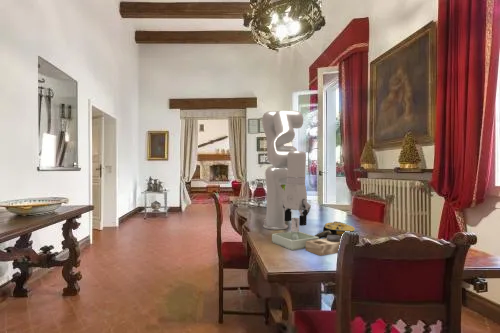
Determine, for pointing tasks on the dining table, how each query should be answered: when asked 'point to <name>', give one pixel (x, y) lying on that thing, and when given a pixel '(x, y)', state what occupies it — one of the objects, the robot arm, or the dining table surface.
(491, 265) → the dining table surface
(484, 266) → the dining table surface
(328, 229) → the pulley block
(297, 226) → the lock pin
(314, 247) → the tan base block
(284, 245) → the tray
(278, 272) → the dining table surface
